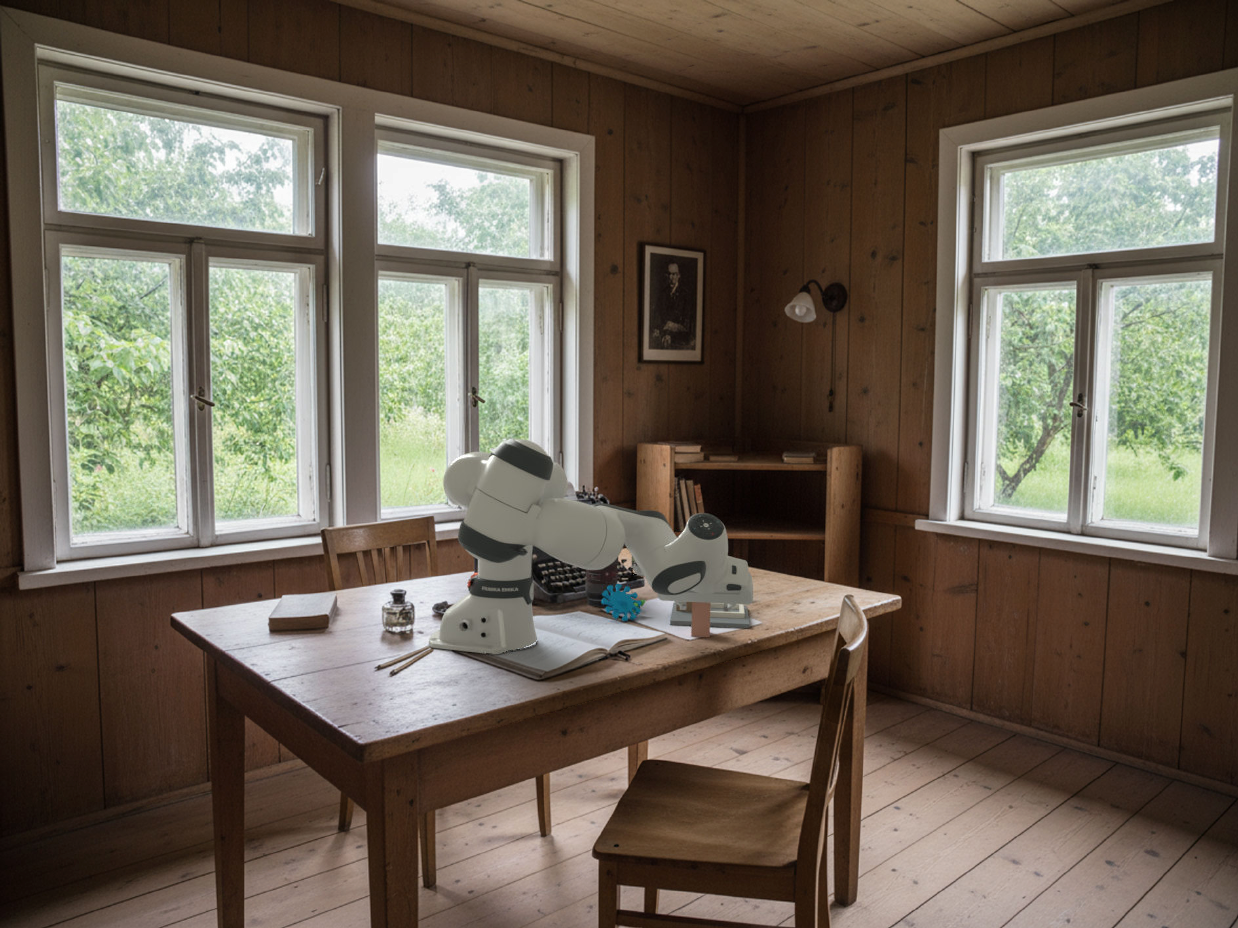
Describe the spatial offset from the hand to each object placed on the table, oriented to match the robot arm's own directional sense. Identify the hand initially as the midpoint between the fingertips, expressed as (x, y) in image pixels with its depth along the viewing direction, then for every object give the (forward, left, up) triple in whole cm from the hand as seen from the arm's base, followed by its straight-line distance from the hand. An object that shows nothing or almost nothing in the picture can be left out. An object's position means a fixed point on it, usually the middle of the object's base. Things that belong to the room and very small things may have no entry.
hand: (705, 608), depth 202 cm
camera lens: (-26, +28, -7) cm, 39 cm away
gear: (-19, +15, -7) cm, 25 cm away
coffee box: (-17, +68, -7) cm, 70 cm away
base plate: (+1, +19, -7) cm, 20 cm away
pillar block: (-1, +3, -7) cm, 7 cm away
